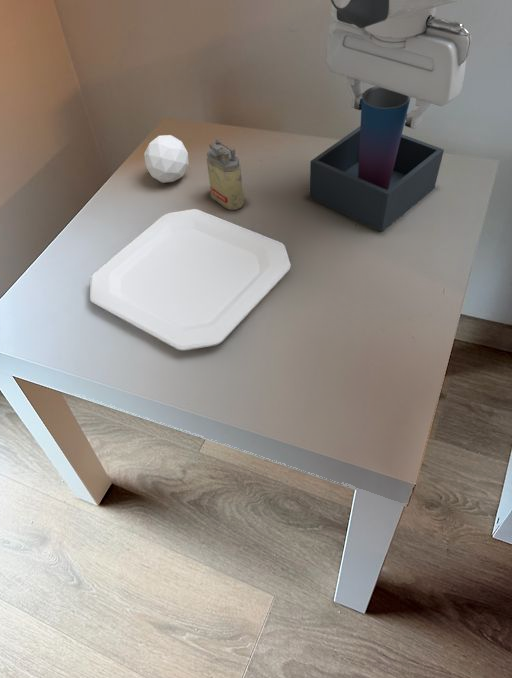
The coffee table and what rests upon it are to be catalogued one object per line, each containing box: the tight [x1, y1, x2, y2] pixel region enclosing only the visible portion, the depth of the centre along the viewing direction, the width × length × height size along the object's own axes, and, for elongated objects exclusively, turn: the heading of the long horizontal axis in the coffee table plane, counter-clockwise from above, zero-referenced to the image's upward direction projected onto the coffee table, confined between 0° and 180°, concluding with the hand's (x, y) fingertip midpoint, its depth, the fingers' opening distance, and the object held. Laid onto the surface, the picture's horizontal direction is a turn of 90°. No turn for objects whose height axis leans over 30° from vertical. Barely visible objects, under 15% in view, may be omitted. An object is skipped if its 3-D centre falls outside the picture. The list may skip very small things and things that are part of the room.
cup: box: [358, 86, 412, 190], centre depth 83 cm, size 7×7×15 cm
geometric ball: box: [143, 134, 190, 184], centre depth 95 cm, size 8×8×8 cm
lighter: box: [206, 138, 245, 211], centre depth 89 cm, size 7×4×10 cm, turn 37°
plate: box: [89, 208, 292, 352], centre depth 80 cm, size 25×25×2 cm
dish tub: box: [308, 125, 445, 233], centre depth 87 cm, size 15×15×7 cm
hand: (384, 116), depth 79 cm, fingers open, 8 cm apart
